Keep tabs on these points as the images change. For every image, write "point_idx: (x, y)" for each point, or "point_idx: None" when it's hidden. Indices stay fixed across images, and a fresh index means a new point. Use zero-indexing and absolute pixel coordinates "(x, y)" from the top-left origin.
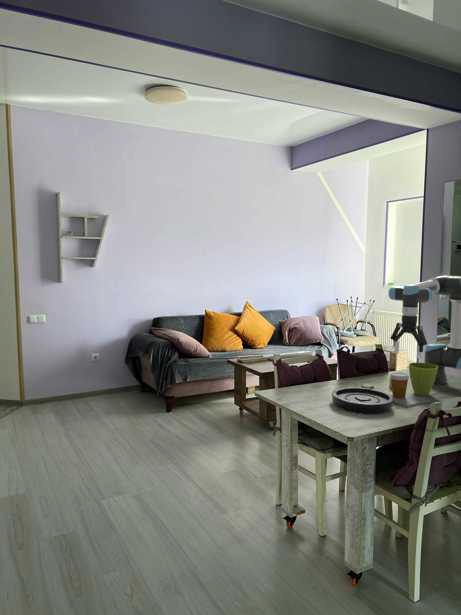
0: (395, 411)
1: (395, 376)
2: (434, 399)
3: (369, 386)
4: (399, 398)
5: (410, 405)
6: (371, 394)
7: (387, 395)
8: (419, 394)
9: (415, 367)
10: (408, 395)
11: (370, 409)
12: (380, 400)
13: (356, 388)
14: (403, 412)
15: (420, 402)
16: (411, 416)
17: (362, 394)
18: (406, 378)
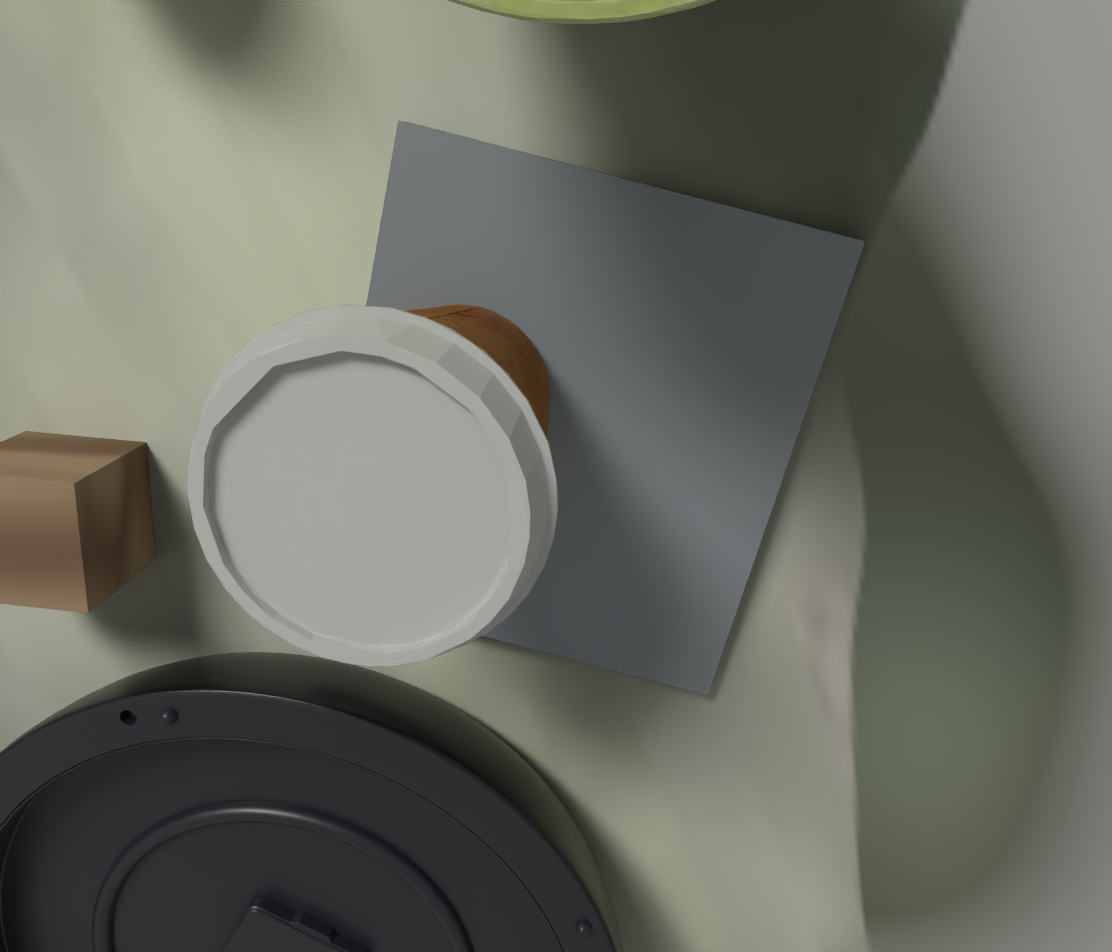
0: (657, 878)
1: (361, 660)
2: (896, 6)
3: (60, 566)
4: None
5: (727, 633)
6: (246, 747)
7: (474, 834)
8: None
9: (501, 10)
10: (535, 216)
11: None
12: (451, 895)
13: (35, 793)
14: (737, 858)
15: (795, 438)
16: (851, 923)
17: (185, 832)
18: (542, 557)
